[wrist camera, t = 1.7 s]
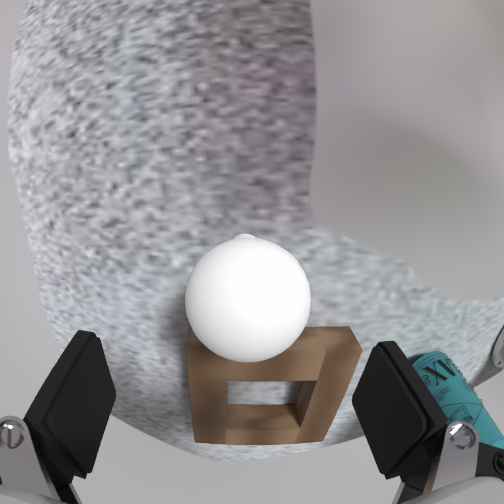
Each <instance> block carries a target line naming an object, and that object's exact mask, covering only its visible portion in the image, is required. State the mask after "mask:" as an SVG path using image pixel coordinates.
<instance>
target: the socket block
mask: <svg viewBox="0 0 504 504" xmlns="http://www.w3.org/2000/svg"><path fill="white" fill-rule="evenodd" d="M361 352H362V348H361V346H360V345H359V343H358V341H357V339H356V337H355V336H354V334H353V332H352V330H351V328H350V327H349V326H343V327H304V329H303V331H302V333H301V334H300V336H299V337H298V338H297V339H296V340H295V341H294V343H293V344H292V345H291V346H290V347H289V348H287V349H286V350H285V351H284V352H282V353H280V354H278V355H276V356H275V357H272V358H269V359H266V360H263V361H258V362H238V361H233V360H230V359H226V358H224V357H222V356H219V355H217V354H216V353H214V352H213V351H211V350H210V349H208V348H207V347H206V346H205V345H204V344H203V343H202V342H201V341H200V340H199V339H198V337H197V336H196V335H195V333H194V332H193V330H192V327H190V331H189V335H188V340H187V344H186V360H187V373H188V384H189V395H190V405H191V414H192V423H193V431H194V439H195V442H197V443H210V444H227V445H280V444H298V443H310V442H320V441H323V440H324V438H325V436H326V434H327V432H328V430H329V428H330V426H331V424H332V421H333V419H334V417H335V415H336V413H337V411H338V409H339V406H340V404H341V402H342V400H343V397H344V395H345V393H346V390H347V388H348V386H349V383H350V381H351V378H352V376H353V373H354V371H355V368H356V366H357V363H358V360H359V358H360V355H361ZM228 380H234V381H302V383H301V387H300V390H299V394H298V397H297V401H296V404H285V405H242V404H227V384H228Z"/></svg>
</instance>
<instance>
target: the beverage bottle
mask: <svg viewBox="0 0 504 504" xmlns="http://www.w3.org/2000/svg"><path fill="white" fill-rule="evenodd" d="M446 355H447V354H446ZM446 355H445V353H442V352H440V351H433V352H430V353H427V354H425V355H424V356H422V357H420V358H419V359H418V360H416V361H415V362H414V363H413V364H412V366H413V367H414V369H415V370H416V372H417V373H418V374H419V376H420V377H421V379H422V380H423V382H424V383H425V385H426V386H427V388H428V389H429V391H430V392H431V394H432V395H433V397H434V398H435V400H436V401H437V403H438V404H439V406H440V407H441V409H442V410H443V412H444V414H445V415H446V417H447V418H448V422H447V425H448V426H449V425H450V424H451V423H453V422H455V421H465V422H467V423H469V424H471V425H472V426H473V427H474V428H475V429H476V430H477V433H478V435H479V442H482V443H485V444H489V445H492V446H495V447H498V448H502V449H504V436H503V435H502V433H501V432H500V430H499V429H498V427H497V425H496V424H495V422H494V421H493V419H492V418H491V417H490V415H489V413H488V412H487V410H486V409H485V408H484V406H483V404H482V402H481V401H480V400H479V399H478V397H477V395H476V394H475V393H474V390H472V389H473V387H472V386H469V385H470V383H469V384H468V383H467V382H466V380H467V379H466V380H465V378H463V376H462V375H463V374H462V373H461V374H462V375H461V374H460V370H459V369H458V370H459V371H458V370H457V368H456V367H457V366H456V365H455V364H452V362H453V361H452V360H451V359H448V356H446ZM450 360H451V361H452V362H451V361H450ZM454 365H455V366H456V367H455V366H454ZM471 387H472V388H471Z"/></svg>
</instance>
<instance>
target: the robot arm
mask: <svg viewBox="0 0 504 504" xmlns="http://www.w3.org/2000/svg"><path fill="white" fill-rule="evenodd" d="M492 362H493V364H494V365H495V366H496V367H498V368H502V367H504V328H503V330H502V332H501V334H500V335H499V337H498V339H497V342H496V344H495V347H494V350H493V354H492ZM115 399H116V390H115V387H114V384H113V381H112V378H111V375H110V372H109V368H108V365H107V362H106V358H105V355H104V351H103V347H102V343H101V340H100V338H99V337H96V334H95V333H94V332H89V331H83V330H78V331H77V332H76V334H75V335H74V337H73V338H72V340H71V341H70V343H69V344H68V346H67V347H66V349H65V350H64V352H63V353H62V355H61V356H60V358H59V359H58V361H57V363H56V364H55V366H54V367H53V369H52V370H51V372H50V374H49V375H48V377H47V378H46V380H45V382H44V383H43V385H42V387H41V388H40V390H39V392H38V394H37V395H36V397H35V399H34V401H33V403H32V404H31V406H30V408H29V410H28V411H27V413H26V415H25V417H24V419H23V420H22V419H20V418H18V417H16V416H6V417H3V418H1V419H0V504H82V502H81V500H80V498H79V497H78V495H77V493H76V491H75V489H74V487H73V485H72V480H73V477H74V475H75V476H78V477H81V478H84V479H86V476H87V473H91V472H92V469H93V466H94V463H95V460H96V456H97V453H98V449H99V446H100V443H101V440H102V437H103V434H104V431H105V428H106V425H107V422H108V419H109V416H110V413H111V410H112V407H113V405H114V402H115ZM352 404H353V407H354V410H355V412H356V414H357V417H358V419H359V422H360V424H361V427H362V429H363V431H364V434H365V436H366V439H367V441H368V444H369V446H370V449H371V451H372V454H373V456H374V459H375V462H376V464H377V466H378V469H379V471H380V473H381V474H384V475H385V478H386V480H387V479H390V478H393V477H397V476H400V478H401V480H402V481H401V483H400V486H399V488H398V490H397V493H396V495H395V498H394V500H393V502H392V504H504V449H502V448H498V447H495V446H492V445H489V444H485V443H482V442H479V435H478V433H477V430H476V429H475V428H474V427H473V426H472V425H471V424H469V423H467V422H465V421H455V422H453V423H451V424H450V425H449V426H448V425H447V422H448V418H447V417H446V415H445V414H444V412H443V410H442V409H441V407H440V406H439V404H438V403H437V401H436V400H435V398H434V397H433V395H432V394H431V392H430V391H429V389H428V388H427V386H426V385H425V383H424V382H423V380H422V379H421V377H420V376H419V374H418V373H417V372H416V370H415V369H414V367H413V366H412V364H411V363H410V362H409V360H408V359H407V357H406V356H405V355H404V353H403V352H402V350H401V349H400V348H399V346H398V345H397V343H396V342H395V341H384V342H379V343H378V344H377V345H376V346H375V347H373V349H372V351H371V354H370V356H369V359H368V361H367V364H366V366H365V369H364V371H363V373H362V376H361V378H360V380H359V383H358V385H357V387H356V389H355V392H354V394H353V396H352Z"/></svg>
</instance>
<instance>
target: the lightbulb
mask: <svg viewBox="0 0 504 504" xmlns="http://www.w3.org/2000/svg"><path fill="white" fill-rule="evenodd" d="M310 303H311V296H310V288H309V283H308V280H307V278H306V275H305V273H304V271H303V269H302V268H301V266H300V265H299V263H298V262H297V260H296V259H295V258H294V257H293V256H292V255H291V254H290V253H288V252H287V251H286V250H284V249H282V248H281V247H279V246H277V245H276V244H274V243H272V242H269V241H266V240H263V239H257V238H256V237H254V236H253V235H250V234H239V235H237V236H235V237H234V238H232V240H229V241H226V242H224V243H222V244H219V245H217V246H216V247H214V248H213V249H212V250H210V251H209V252H207V253H206V254H205V255H204V256H203V257H202V258H201V259H200V260H199V261H198V262H197V264H196V265H195V267H194V269H193V270H192V272H191V274H190V277H189V280H188V283H187V286H186V292H185V307H186V313H187V317H188V320H189V322H190V325H191V327H192V330H193V332H194V333H195V335H196V336H197V337H198V339H199V340H200V341H201V342H202V343H203V344H204V345H205V346H206V347H207V348H208V349H210V350H211V351H213V352H214V353H216V354H217V355H219V356H222V357H224V358H226V359H230V360H233V361H238V362H258V361H263V360H266V359H269V358H272V357H275V356H276V355H278V354H280V353H282V352H284V351H285V350H286V349H287V348H289V347H290V346H291V345H292V344H293V343H294V341H295V340H296V339H297V338H298V337H299V336H300V334H301V333H302V331H303V329H304V327H305V325H306V322H307V319H308V316H309V312H310Z"/></svg>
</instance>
